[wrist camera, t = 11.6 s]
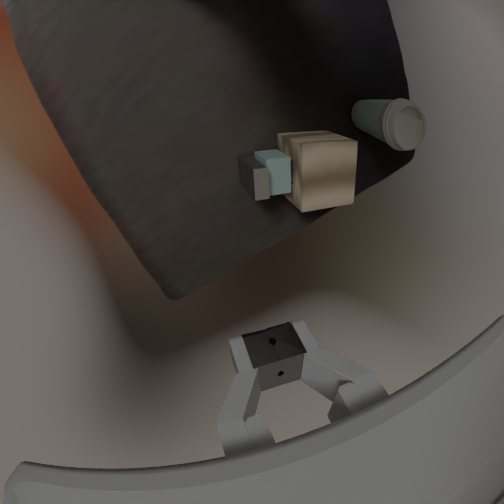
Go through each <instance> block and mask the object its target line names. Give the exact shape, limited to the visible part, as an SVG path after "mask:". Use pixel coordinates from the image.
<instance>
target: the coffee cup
mask: <svg viewBox="0 0 504 504" xmlns="http://www.w3.org/2000/svg"><path fill="white" fill-rule="evenodd" d="M351 116H352V121H353V123H354V125H355V126H356V127H357V128H359V129H361V130H362V131H364V132H366V133H368V134H370V135H372V136H374V137H376V138H378V139H380V140H382V141H384V142H386V143H387V144H389V145H390V146H391V147H392V148H393V149H395V150H399V151H406V150H413V149H415V148H416V147H417V146H419V144H420V143H421V141H422V140H423V137H424V134H425V119H424V115H423V113H422V111H421V110H420V108H419V107H417V106H416V105H415V104H413V103H412V102H411V101H409V100H407V99H403V98H399V99H396V100H360V101H358V102H357V103H355V105H354V106H353V109H352V113H351Z"/></svg>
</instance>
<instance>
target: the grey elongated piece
mask: <svg viewBox="0 0 504 504" xmlns="http://www.w3.org/2000/svg"><path fill="white" fill-rule="evenodd" d="M238 162H239V173H240V183H241V184H242V185H243V186H244V187H245V189H246V190H247V191H248V192H249V194H250V195H251V196H252V197H253V198H254V200H255V201H258V200H263V199H269V198H270V195H269V173H268V167H267V166H266V165H264V164H263V163H262V162H260V161H259V160H258V159H256V158H255V157H254V156H252V155H251V154H247V155H240V156H238ZM291 182H293V160H291Z"/></svg>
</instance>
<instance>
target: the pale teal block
mask: <svg viewBox="0 0 504 504" xmlns="http://www.w3.org/2000/svg"><path fill="white" fill-rule="evenodd" d="M254 155H255V158H256V159H258V160H259V161H260V162H262V163H263V164H264V165H266V166H267V167H268V173H269V195H270V196H272V195H278V194H284V193H291V158H290V156H288V155H286V154H284V153H283V152H281V151H279V150H277V149H273V150H264V151H256V152H254Z"/></svg>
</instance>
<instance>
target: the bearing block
mask: <svg viewBox="0 0 504 504" xmlns="http://www.w3.org/2000/svg"><path fill="white" fill-rule="evenodd" d="M277 138H278V150H279V151H281V152H283V153H284V154H286V155H288V156H290V158H291V160H293V182H291V193H284V194H283V195H284V196H285V197H286V198H287V199H288V200H289V201H290V202H291V203H293V204H294V205H295V206H296V207H297V208H298V209H299V210H300V211H301V212H307V211H313V210H319V209H325V208H330V207H336V206H341V205H348V204H353V201H354V190H355V178H356V163H357V145H358V141H356V140H353V139H350V138H347V137H344V136H341V135H338V134H335V133H332V132H329V131H309V132H292V133H279V134H277Z"/></svg>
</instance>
